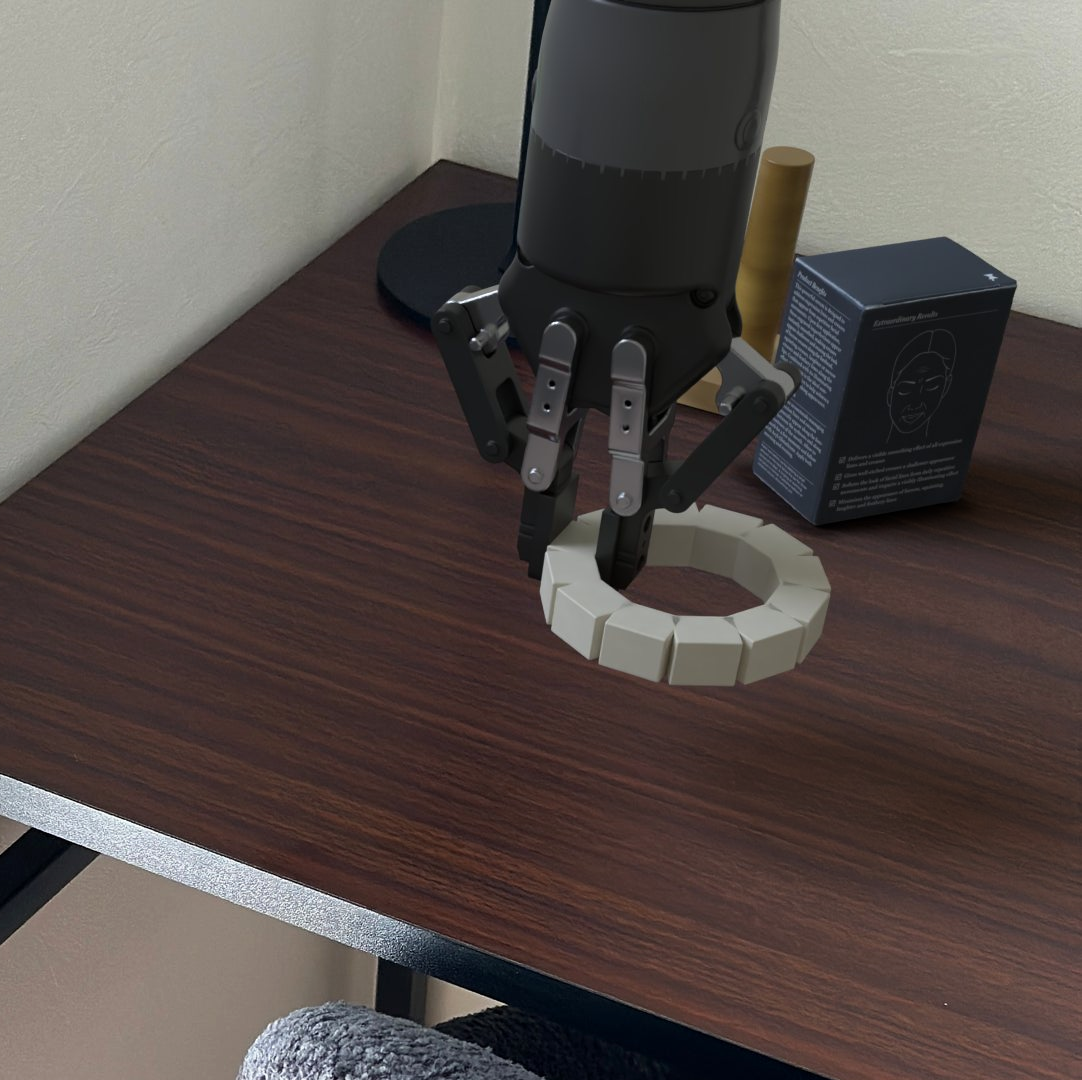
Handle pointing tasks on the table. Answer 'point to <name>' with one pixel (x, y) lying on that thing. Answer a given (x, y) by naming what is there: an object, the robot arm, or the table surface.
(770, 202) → the post
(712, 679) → the ring
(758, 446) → the box
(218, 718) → the table surface
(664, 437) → the robot arm
